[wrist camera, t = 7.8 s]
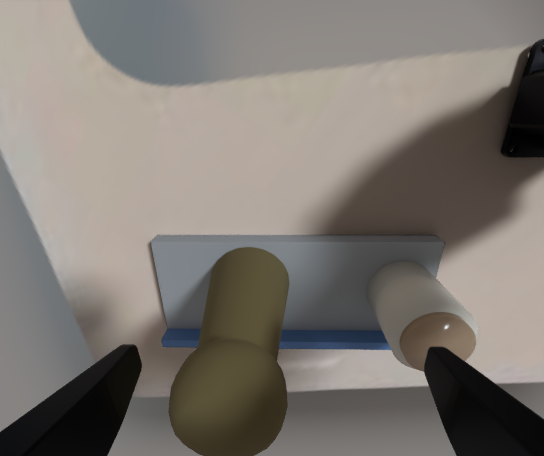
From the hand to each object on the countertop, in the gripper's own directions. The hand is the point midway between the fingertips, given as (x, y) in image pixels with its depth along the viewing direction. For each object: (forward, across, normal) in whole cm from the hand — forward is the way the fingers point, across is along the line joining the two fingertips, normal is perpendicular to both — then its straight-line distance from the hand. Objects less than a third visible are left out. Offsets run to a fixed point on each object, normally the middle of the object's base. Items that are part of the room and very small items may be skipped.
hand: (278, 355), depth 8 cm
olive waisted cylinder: (+12, +2, +5) cm, 13 cm away
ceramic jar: (+12, -9, +6) cm, 16 cm away
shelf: (+13, -1, +6) cm, 14 cm away
